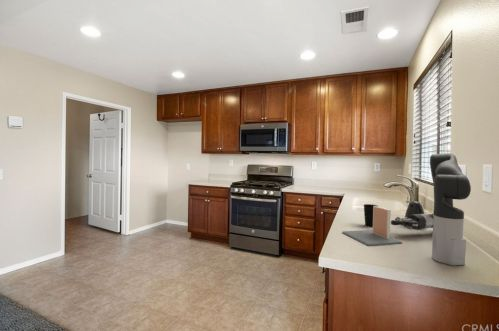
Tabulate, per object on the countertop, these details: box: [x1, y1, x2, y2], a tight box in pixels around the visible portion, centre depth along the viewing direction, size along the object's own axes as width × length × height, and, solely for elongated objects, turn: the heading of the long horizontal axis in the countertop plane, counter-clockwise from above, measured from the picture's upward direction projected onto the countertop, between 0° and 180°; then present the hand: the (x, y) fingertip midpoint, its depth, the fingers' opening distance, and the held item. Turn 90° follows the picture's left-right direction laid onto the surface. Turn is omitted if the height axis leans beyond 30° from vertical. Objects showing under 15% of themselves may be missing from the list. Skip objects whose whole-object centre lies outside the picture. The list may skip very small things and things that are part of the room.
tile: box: [372, 205, 392, 239], centre depth 126 cm, size 10×2×14 cm, turn 13°
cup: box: [363, 203, 378, 228], centre depth 147 cm, size 8×8×12 cm
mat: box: [341, 229, 403, 247], centre depth 124 cm, size 20×18×1 cm
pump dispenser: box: [404, 200, 425, 218], centre depth 146 cm, size 10×10×15 cm
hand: (392, 222), depth 127 cm, fingers closed
